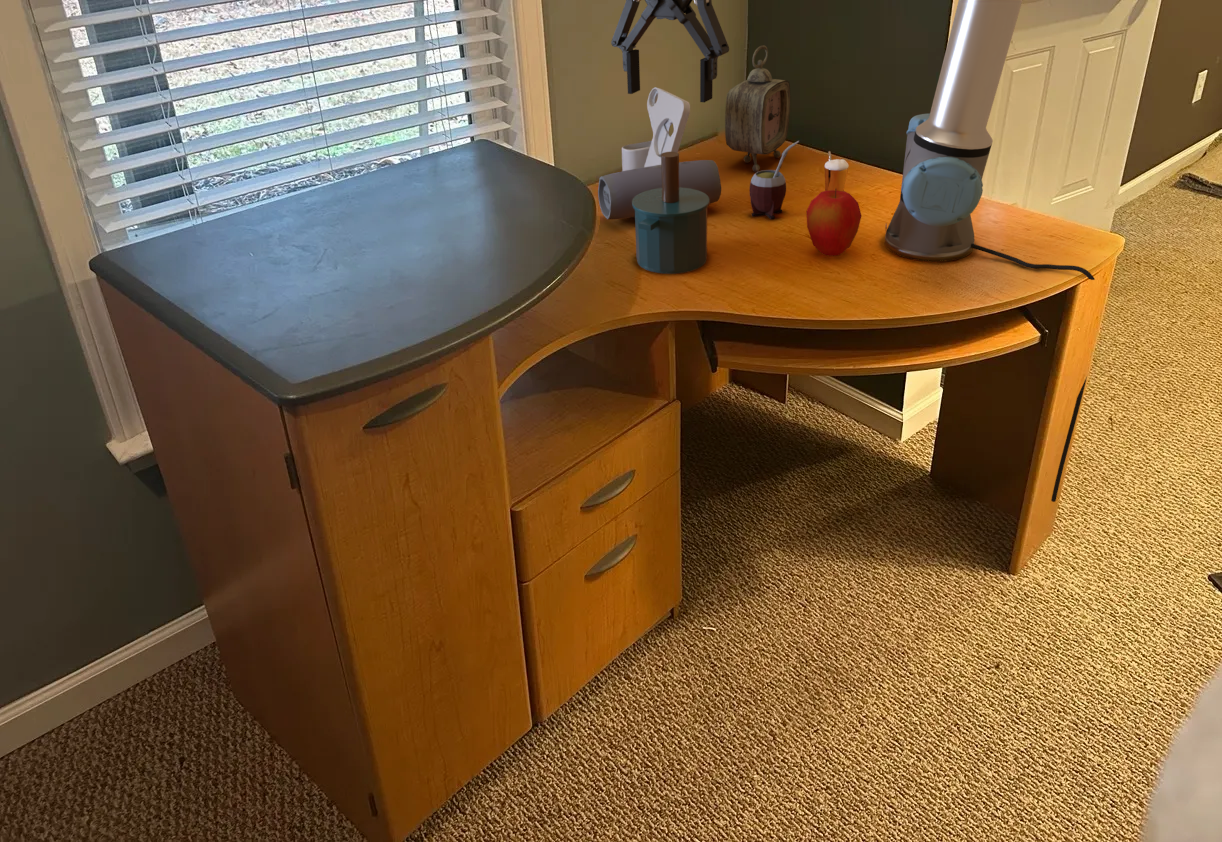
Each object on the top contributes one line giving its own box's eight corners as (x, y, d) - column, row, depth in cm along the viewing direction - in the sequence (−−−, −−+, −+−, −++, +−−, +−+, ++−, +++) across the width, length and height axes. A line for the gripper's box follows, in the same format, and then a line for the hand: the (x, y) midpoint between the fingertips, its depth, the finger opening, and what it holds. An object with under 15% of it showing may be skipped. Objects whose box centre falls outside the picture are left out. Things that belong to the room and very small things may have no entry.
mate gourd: (743, 210, 195) (745, 134, 187) (780, 205, 197) (784, 130, 189) (757, 223, 189) (760, 145, 181) (795, 217, 190) (800, 140, 182)
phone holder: (618, 174, 217) (614, 90, 208) (659, 166, 220) (658, 84, 211) (651, 197, 204) (649, 109, 194) (694, 189, 207) (695, 102, 197)
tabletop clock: (759, 176, 212) (763, 55, 199) (722, 170, 216) (723, 51, 203) (787, 156, 222) (793, 40, 209) (751, 151, 226) (754, 37, 213)
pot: (725, 248, 179) (726, 192, 174) (677, 284, 167) (676, 226, 161) (666, 236, 185) (665, 182, 180) (615, 271, 173) (613, 214, 167)
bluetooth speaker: (704, 199, 201) (704, 151, 196) (722, 214, 194) (723, 164, 188) (598, 216, 196) (595, 167, 191) (612, 232, 188) (610, 181, 183)
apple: (793, 252, 176) (797, 187, 170) (829, 239, 180) (834, 175, 174) (832, 268, 170) (837, 201, 163) (868, 254, 174) (874, 188, 168)
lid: (722, 200, 172) (723, 148, 167) (685, 225, 163) (685, 171, 158) (657, 189, 179) (655, 138, 174) (617, 213, 169) (615, 160, 164)
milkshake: (835, 198, 198) (839, 149, 193) (849, 207, 194) (853, 157, 188) (815, 202, 197) (818, 152, 192) (828, 210, 193) (832, 160, 187)
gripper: (752, -48, 146) (748, 98, 157) (611, -53, 158) (617, 83, 169) (729, -41, 141) (727, 109, 152) (585, -46, 153) (593, 94, 164)
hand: (669, 96), depth 161 cm, fingers open, 13 cm apart
